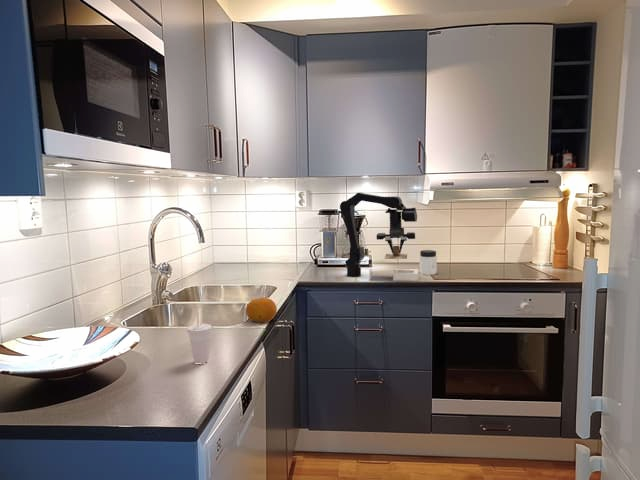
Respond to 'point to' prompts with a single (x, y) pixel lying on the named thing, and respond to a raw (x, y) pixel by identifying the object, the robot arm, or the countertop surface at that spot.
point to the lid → (396, 254)
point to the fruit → (261, 309)
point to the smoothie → (200, 341)
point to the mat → (382, 278)
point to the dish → (405, 275)
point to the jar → (428, 262)
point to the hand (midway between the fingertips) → (396, 253)
